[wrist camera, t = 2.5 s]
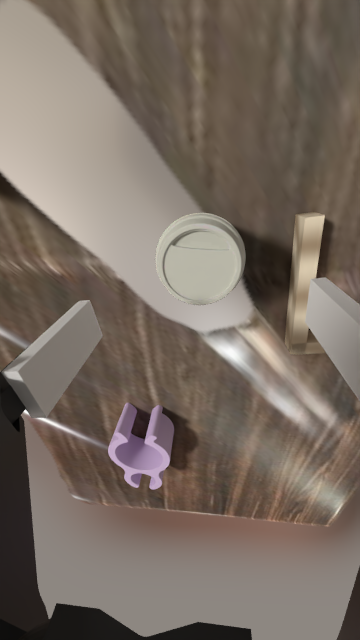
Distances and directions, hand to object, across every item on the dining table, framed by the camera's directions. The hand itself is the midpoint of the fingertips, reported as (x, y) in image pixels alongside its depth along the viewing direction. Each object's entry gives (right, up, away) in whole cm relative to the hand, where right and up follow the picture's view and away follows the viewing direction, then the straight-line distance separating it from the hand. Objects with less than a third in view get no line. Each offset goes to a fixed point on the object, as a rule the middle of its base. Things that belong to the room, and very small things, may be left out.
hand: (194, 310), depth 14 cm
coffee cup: (+2, +10, +17) cm, 20 cm away
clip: (-8, -26, +40) cm, 49 cm away
